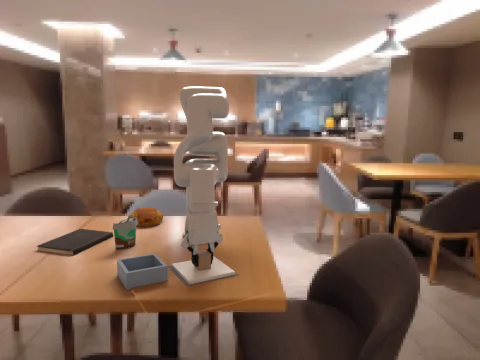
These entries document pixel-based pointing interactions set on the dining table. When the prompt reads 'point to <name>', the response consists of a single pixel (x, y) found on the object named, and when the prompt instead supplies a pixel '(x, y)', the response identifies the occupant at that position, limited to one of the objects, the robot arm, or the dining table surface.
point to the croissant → (147, 216)
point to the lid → (202, 268)
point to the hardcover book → (75, 241)
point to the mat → (198, 282)
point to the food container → (125, 233)
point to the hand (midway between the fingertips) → (202, 263)
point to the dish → (141, 270)
